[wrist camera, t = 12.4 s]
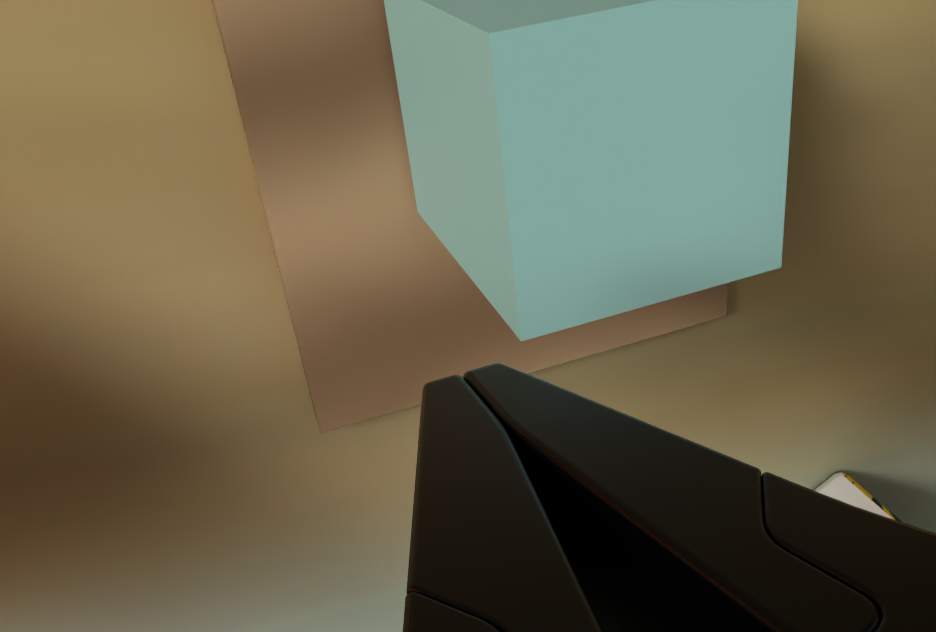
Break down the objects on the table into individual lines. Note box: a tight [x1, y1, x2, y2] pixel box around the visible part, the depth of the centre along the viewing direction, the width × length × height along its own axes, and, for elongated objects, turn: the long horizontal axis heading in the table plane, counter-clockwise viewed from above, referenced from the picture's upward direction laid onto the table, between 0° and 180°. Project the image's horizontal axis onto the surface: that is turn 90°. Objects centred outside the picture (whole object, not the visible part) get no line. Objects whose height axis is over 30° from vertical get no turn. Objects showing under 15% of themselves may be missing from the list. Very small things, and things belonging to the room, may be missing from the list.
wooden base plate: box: [212, 0, 728, 433], centre depth 18 cm, size 16×12×7 cm
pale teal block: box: [384, 0, 798, 341], centre depth 17 cm, size 5×5×7 cm
